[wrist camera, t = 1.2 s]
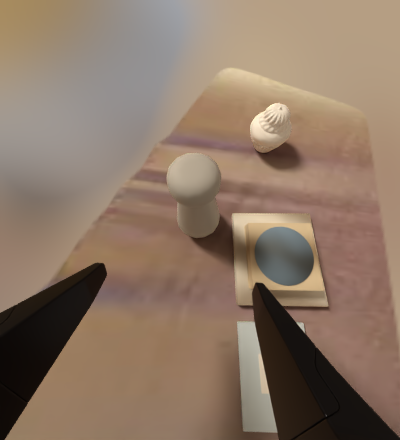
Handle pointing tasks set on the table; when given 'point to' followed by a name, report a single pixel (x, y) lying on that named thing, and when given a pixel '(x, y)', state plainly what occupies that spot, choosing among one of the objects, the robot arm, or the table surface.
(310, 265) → the foundation
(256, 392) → the pale grey rectangular tile
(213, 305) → the table surface
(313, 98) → the table surface
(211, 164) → the beige mushroom knob
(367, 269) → the table surface
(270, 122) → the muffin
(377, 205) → the table surface
